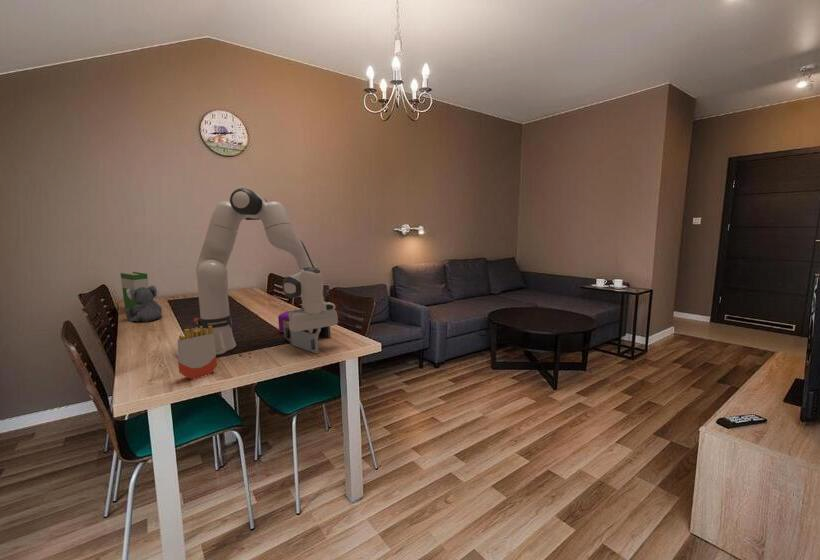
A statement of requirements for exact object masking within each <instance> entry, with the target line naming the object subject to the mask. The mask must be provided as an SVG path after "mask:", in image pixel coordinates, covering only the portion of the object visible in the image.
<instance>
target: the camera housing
mask: <svg viewBox="0 0 820 560" xmlns="http://www.w3.org/2000/svg"><path fill="white" fill-rule="evenodd" d="M316 331H317V330H316V329H313V331H312V333H313V334H316ZM304 332H307V333H309V331H308V330H304ZM283 334H284V338H285V339H286V341H288V342H289V343H290V344H291V332H290V329H289V321H287V322H285V328H284V333H283ZM319 334H323V335H324V336H325V337H326V336H327V337H326V338H328V339H330V338H329V337H331V326H328V327H322V328H321V331H320V333H319ZM331 338H332V337H331Z"/></svg>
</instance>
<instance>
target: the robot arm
mask: <svg viewBox="0 0 820 560" xmlns="http://www.w3.org/2000/svg"><path fill="white" fill-rule="evenodd" d="M243 220H246V221H261V223H262V225H263V229H264V232H265V236H266V237H267V240H268V242H269V244H271V245H272V246H273V247H274V248H276V249H279V250H282V251H285V252H288V253H289V254H290V255H292V256H293V257H294V259H295V261H296V263H297V266H298V268H299V270H300V271H299V272H297V273H294V274H291V275H288V276H286V277H285V278H284V279H283V282H282V292H283V293H284V295H285V296H287V297H288V298H292V299H295V298H301V303H302V304H301V305H302V307H300V308H293V309H290V310H291V311H290V312H289V314H288V316H289V329H290V330H291V331H292V332H298V331H304V330H308V331H309V333H311V334H313V333H312V331H313V329H316V330H317V331H316V334H314V335H317V336H318V337H319V335H320V334H321V333H320V331H321V328H322V327H328V326H330V327H332V326H333V327H334V326H337V325H338V323H339V317H338V312H337V310H335V309H336V304H334V303H332V302H329V301H325V299H324V298H325V297H324V295H323V294H324V293H323V292H324V279H323V274H322V272H321V270H320V269H318V268H316V267H315V266H314V264H313V262H312V260H311V257H310V255H309V252H308V250H307V248H306V246H305V243H304V242H303V241H302V240H301V239H300V238H299V236H298V235H297V233H296V231H295V230H294V228H293V225H292V222H291V219H290V217H289V214H288V212H287V210H286V208H285V206H284V205H283V204H282V203H281V202H279V201H274V200H273V201H267V200H266V199H265V197H263V196H262V195H260V194H259V193H258V192H255V191H253V190H251V189H248V188H243V187H242V188H237V189H235V190H233V192H232V193H231V194H230V197H229V201H227V200H225V201H220V202H218V204H216V206H215V208H214V211H213V213H212V215H211V217H210V220H209V224H208V227H207V230H206V233H205V238H204V241H203V245H202V247H201V250H200V252H199V253H200V255H199V257H198V260H197V263H196V266H195V273H196V280H197V293H198V304H199V305H198V306H199V315H200V317H195V318H193V322H194V324H195V328H194V331H199V330H200V326H202V327H203V329H204V328H206V329H207V333H208V326H212V330H213V333H214V340H215V350H216V356H217V355H222V354H224V353H227V352H228V351H230V350H233V349H234V348H235V347H237V343H236V341H235V338H234V333H233V330H232V326H233V323H232V322H233V321H232V316H231V314H230V305H229V283H228V282H229V280H228V279H229V278H228V269H227V265H228V263H229V260H230V257H231V254H232V252H233V249H234V245H235V242H236V240H237V239H236V238H237V236H238V232H239V227H240V225H241V222H242V221H243ZM190 333H191V331H190ZM190 337H191V335H190ZM184 339H185V336H184ZM176 357H177V358H178V349H177V350H176Z"/></svg>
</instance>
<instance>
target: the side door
mask: <svg viewBox="0 0 820 560" xmlns="http://www.w3.org/2000/svg"><path fill="white" fill-rule="evenodd" d="M290 332H291V343H290V345H291V346H294V347H297V348H300V349H302V350H306V351H308V352H311V353H313V354H319V340H318V339H319V335H318V336H317V335H314V334H311V333H307V332H304V331H298V332H292V331H291V330H290Z"/></svg>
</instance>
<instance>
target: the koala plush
mask: <svg viewBox="0 0 820 560" xmlns="http://www.w3.org/2000/svg"><path fill="white" fill-rule="evenodd" d="M159 291H160V289H159V287H158V286H157V285H155V284H153V285H150V286H149V287H148V288H146V287H139V288H138V289H136V290H135V289H127V290H126V293H127V295H128V298H130V299H131V300H134V301H135V302H136V303H137V304H138V305H135V306H134V308H133V309H132V308H128V309H127V310H125V309H124V311H125V316H126V319H127V320H128V319H129V320H128V321H130V320H131V321H130V322H132V321H136V322H135V323H140V322H139V321H142V322H144V323H149V322H154V321H155V319H156V320H160V319H162V317H163V314H162V311H163V310H162V306H161V305H160V304H159V303H158V302H157V301H156V300H154V298H156V297H157V296H158V295H159ZM159 318H160V319H159ZM153 320H154V321H153ZM148 321H149V322H148Z"/></svg>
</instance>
